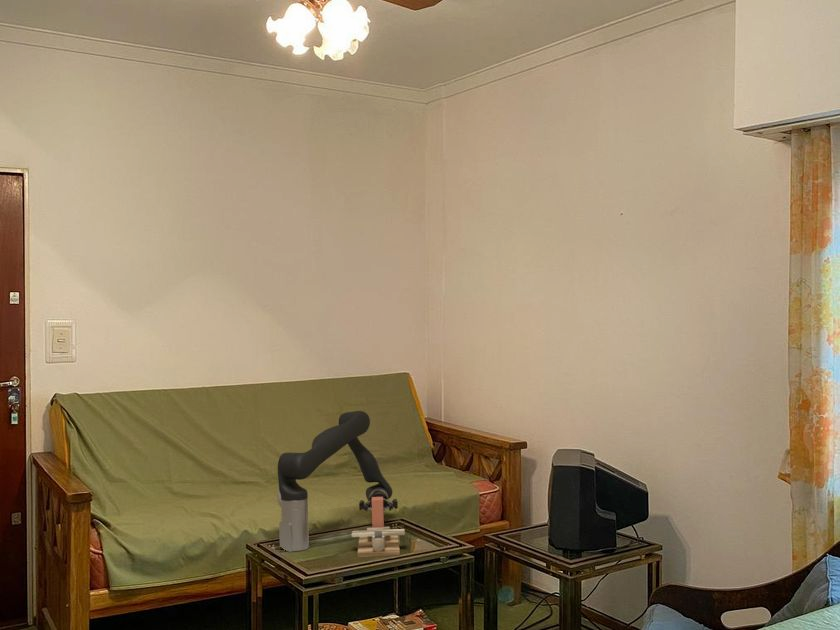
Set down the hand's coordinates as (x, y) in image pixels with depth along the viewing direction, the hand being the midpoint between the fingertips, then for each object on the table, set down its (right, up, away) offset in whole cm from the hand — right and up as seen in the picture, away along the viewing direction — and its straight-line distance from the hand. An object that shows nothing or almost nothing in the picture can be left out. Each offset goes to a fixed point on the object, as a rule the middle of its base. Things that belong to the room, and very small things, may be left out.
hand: (378, 508), depth 308 cm
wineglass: (-34, -12, +7) cm, 37 cm away
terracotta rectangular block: (0, -9, -5) cm, 11 cm away
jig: (+1, -10, -14) cm, 18 cm away
